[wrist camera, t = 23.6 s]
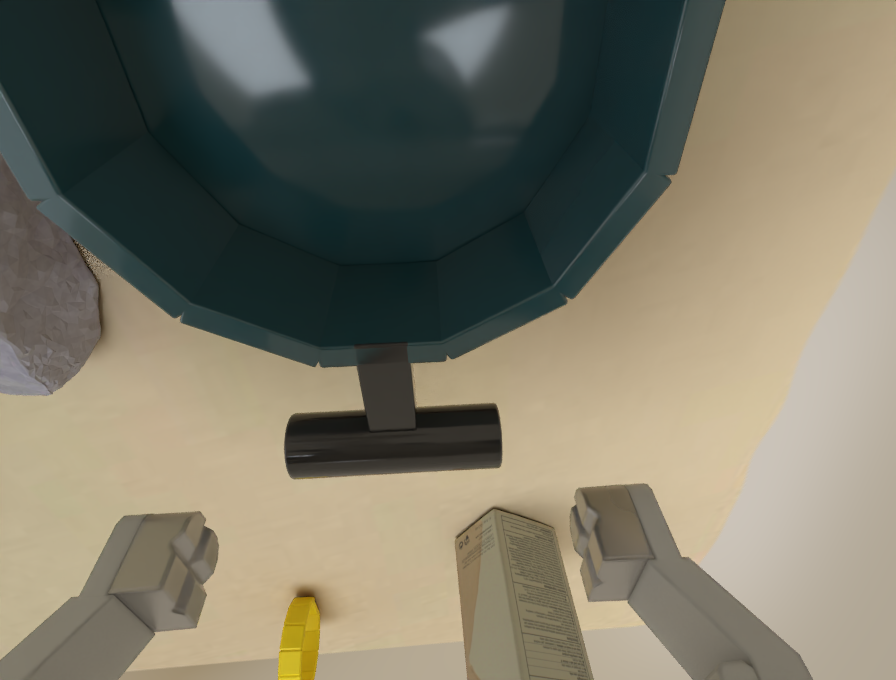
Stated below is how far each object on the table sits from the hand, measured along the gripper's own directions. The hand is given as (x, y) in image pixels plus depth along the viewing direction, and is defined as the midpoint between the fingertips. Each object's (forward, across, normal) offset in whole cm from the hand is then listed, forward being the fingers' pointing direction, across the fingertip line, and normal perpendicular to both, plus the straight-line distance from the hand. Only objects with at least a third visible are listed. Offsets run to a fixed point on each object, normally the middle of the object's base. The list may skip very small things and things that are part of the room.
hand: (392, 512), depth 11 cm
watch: (+10, +9, +27) cm, 30 cm away
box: (+10, -5, +19) cm, 22 cm away
